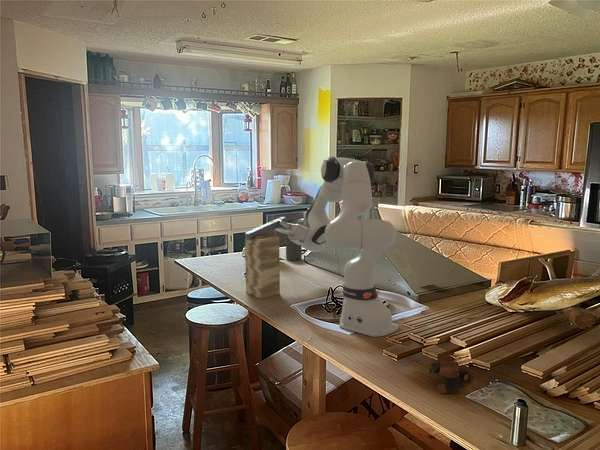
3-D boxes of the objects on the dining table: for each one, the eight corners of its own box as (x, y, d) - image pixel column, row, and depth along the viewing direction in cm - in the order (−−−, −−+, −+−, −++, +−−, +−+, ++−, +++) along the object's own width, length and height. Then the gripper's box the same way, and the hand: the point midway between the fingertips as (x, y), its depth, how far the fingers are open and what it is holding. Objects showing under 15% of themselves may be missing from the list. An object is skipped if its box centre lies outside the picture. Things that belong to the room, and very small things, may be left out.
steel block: (287, 223, 218) (285, 217, 217) (250, 240, 206) (248, 233, 205) (283, 222, 220) (281, 216, 220) (246, 239, 208) (244, 233, 207)
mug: (288, 261, 275) (288, 240, 273) (284, 257, 284) (283, 237, 282) (311, 259, 279) (311, 239, 277) (306, 256, 288) (306, 236, 286)
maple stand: (279, 294, 215) (279, 234, 210) (261, 298, 208) (260, 237, 204) (264, 288, 224) (263, 231, 219) (246, 292, 218) (244, 233, 213)
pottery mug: (427, 394, 130) (424, 362, 133) (436, 394, 138) (432, 364, 141) (473, 392, 125) (469, 359, 128) (480, 393, 132) (475, 362, 135)
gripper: (286, 224, 233) (265, 212, 224) (314, 230, 218) (293, 217, 209) (281, 236, 232) (260, 225, 223) (308, 242, 216) (287, 230, 208)
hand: (276, 221), depth 216 cm, fingers closed on steel block, 3 cm apart
